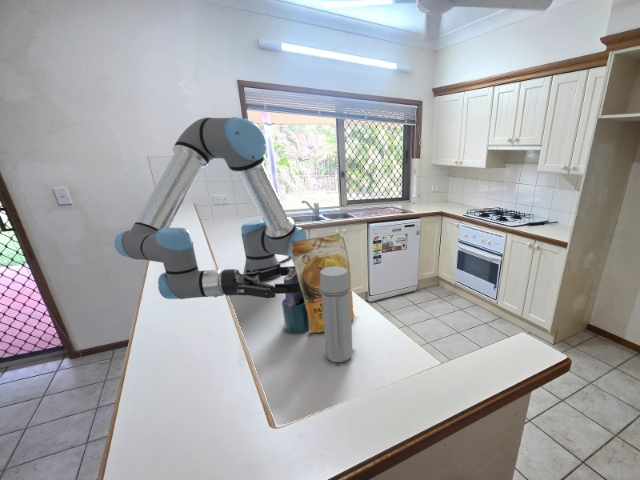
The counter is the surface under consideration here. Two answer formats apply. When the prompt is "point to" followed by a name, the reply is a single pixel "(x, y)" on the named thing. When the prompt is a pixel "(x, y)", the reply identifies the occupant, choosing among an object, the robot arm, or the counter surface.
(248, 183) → the robot arm
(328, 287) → the water bottle
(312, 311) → the pancake mix bag
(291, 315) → the coffee cup
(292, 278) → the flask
